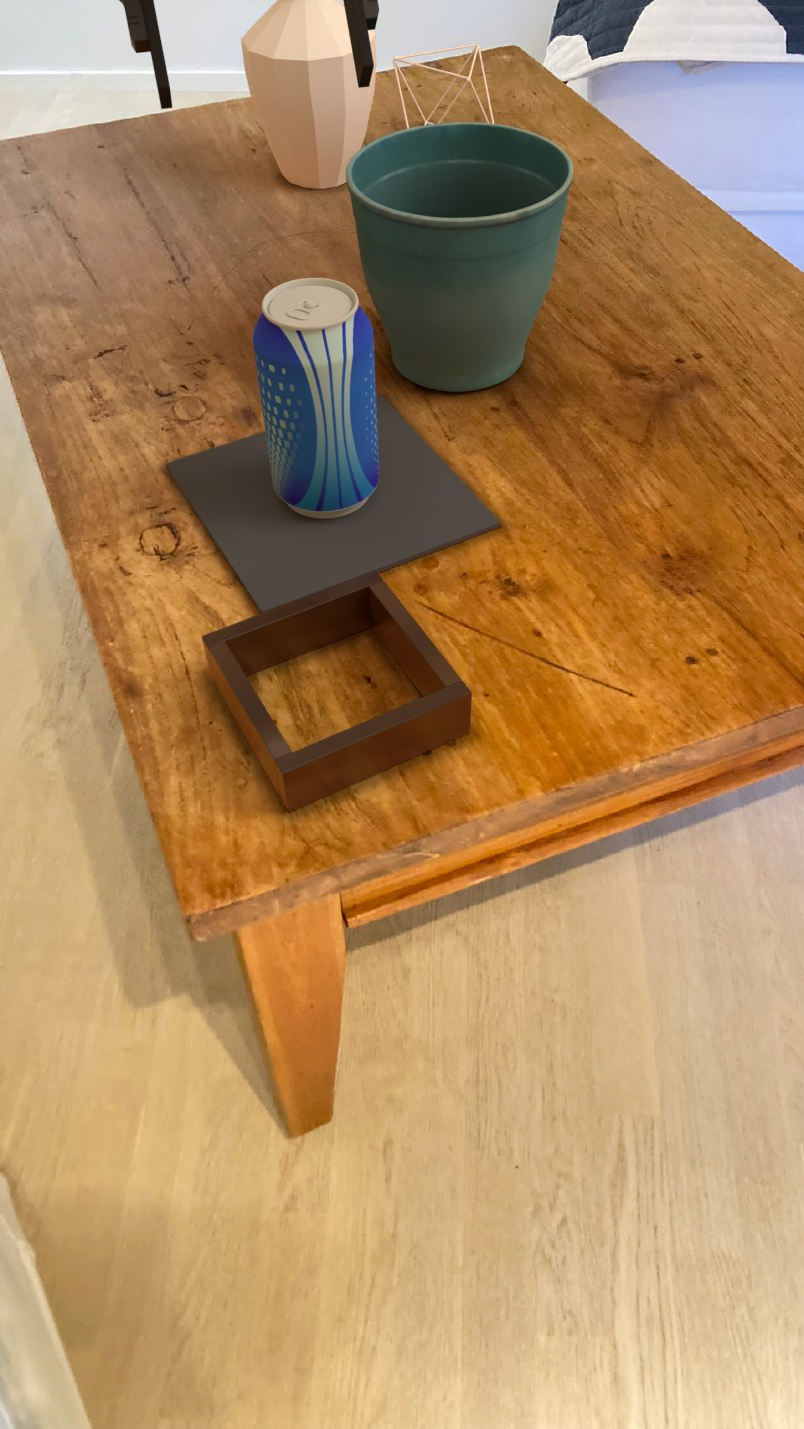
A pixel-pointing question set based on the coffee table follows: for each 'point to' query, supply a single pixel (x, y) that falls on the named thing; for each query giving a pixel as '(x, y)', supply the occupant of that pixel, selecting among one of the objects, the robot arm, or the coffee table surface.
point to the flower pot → (458, 244)
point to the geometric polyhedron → (450, 84)
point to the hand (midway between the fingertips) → (267, 88)
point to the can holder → (359, 746)
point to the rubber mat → (326, 552)
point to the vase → (308, 89)
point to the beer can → (318, 396)
